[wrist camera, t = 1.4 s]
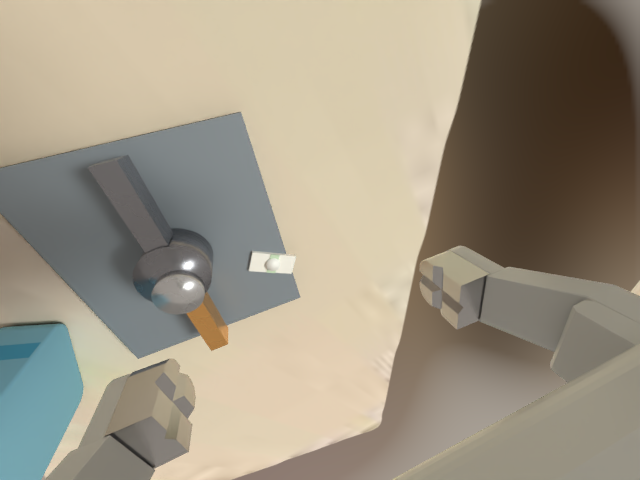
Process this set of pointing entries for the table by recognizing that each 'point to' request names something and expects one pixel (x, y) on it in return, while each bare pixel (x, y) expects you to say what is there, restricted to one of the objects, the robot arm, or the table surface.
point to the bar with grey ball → (164, 252)
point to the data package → (35, 397)
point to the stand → (180, 213)
